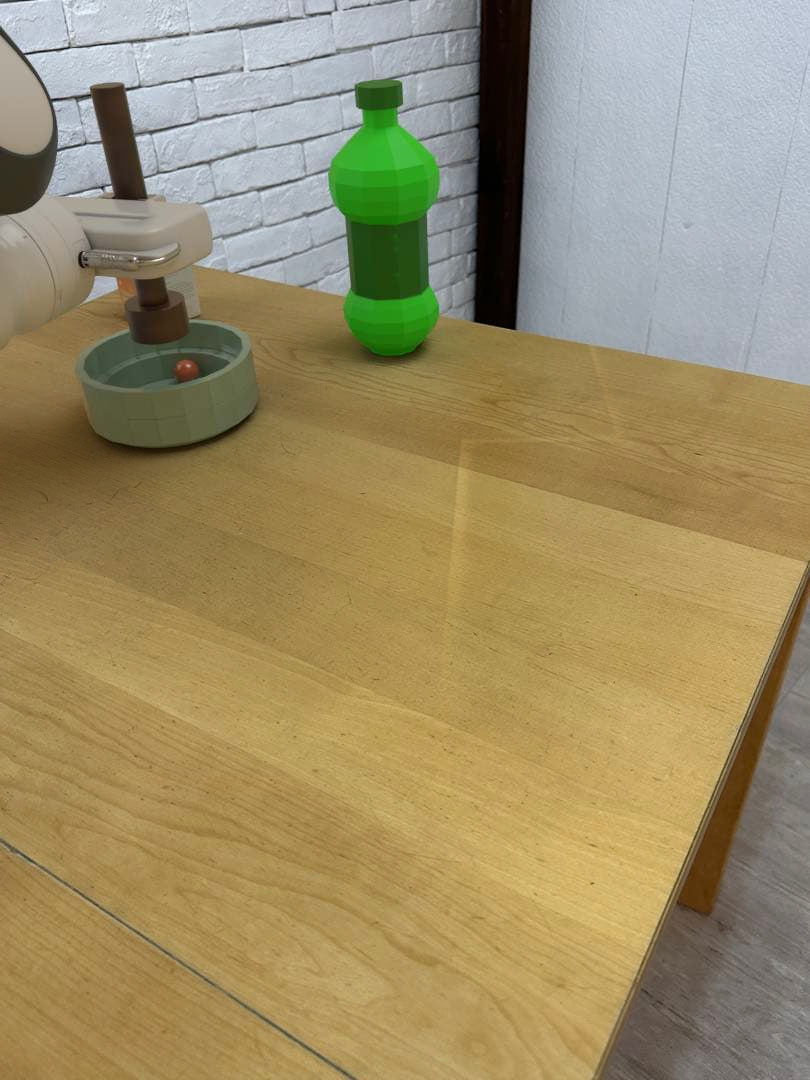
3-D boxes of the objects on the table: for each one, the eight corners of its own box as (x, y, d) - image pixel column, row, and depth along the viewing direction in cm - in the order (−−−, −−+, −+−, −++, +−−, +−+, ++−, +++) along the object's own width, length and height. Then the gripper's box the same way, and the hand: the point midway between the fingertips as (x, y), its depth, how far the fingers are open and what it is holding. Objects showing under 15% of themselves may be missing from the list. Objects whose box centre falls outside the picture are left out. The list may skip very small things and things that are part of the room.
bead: (173, 388, 88) (168, 365, 86) (180, 377, 90) (175, 355, 88) (197, 388, 87) (192, 365, 86) (204, 377, 89) (199, 355, 88)
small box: (123, 314, 106) (101, 223, 100) (163, 300, 109) (144, 211, 103) (162, 330, 102) (142, 236, 95) (203, 315, 105) (186, 223, 99)
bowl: (64, 453, 80) (46, 392, 76) (125, 375, 92) (111, 319, 89) (237, 455, 78) (226, 392, 75) (275, 375, 91) (267, 318, 87)
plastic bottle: (347, 328, 100) (325, 76, 85) (443, 325, 99) (437, 71, 85) (339, 367, 92) (313, 96, 77) (443, 364, 91) (436, 91, 76)
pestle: (122, 345, 79) (60, 92, 67) (142, 322, 83) (86, 80, 71) (180, 344, 78) (127, 90, 67) (197, 321, 82) (150, 78, 71)
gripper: (142, 220, 59) (243, 167, 70) (-96, 205, 66) (29, 159, 76) (162, 312, 63) (255, 249, 73) (-65, 289, 69) (50, 234, 80)
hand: (139, 203), depth 75 cm, fingers closed on pestle, 2 cm apart
